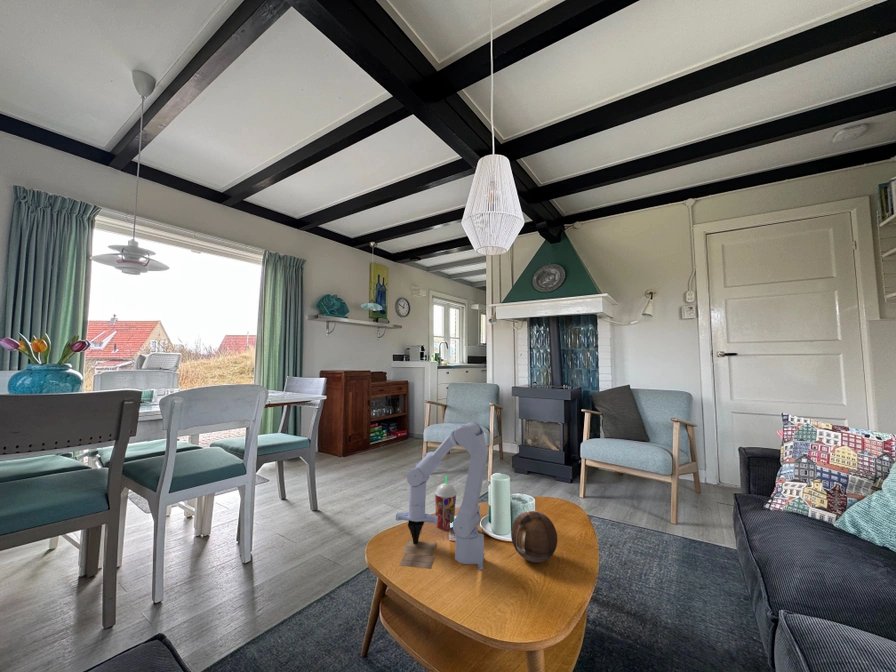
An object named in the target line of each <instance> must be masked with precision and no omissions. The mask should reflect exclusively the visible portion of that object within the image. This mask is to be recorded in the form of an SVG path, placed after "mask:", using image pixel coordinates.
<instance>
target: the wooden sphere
mask: <svg viewBox="0 0 896 672" xmlns="http://www.w3.org/2000/svg"><path fill="white" fill-rule="evenodd" d="M510 529H511V530H510V535H511V536H510V537H511V538H510V539H511V542H512V544H513V547H514V549H515V550H516V552H517V554H518V555H520V556H521V558H523V559H525V560H526V561H528V562H531V563H542V562H545V561H547V560H549V559H550V558H551V557H552V556H553V555H554V553H555V552H556V549H557V546H558V533H557V530H556V527H555V525H554V523H553V521H552V520H551V519H550V518H549V517H548V516H547V515H545V514H544V513H542V512H540V511H537V510H526V511H524V512H521V513H520V514H518V516H516V518H515V519H514V521H513V522H512V526H511V528H510Z"/></svg>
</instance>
